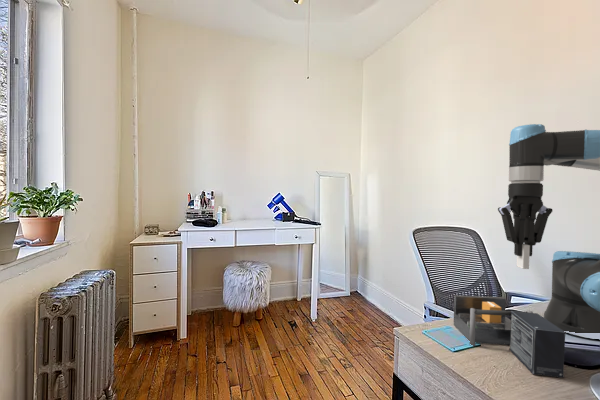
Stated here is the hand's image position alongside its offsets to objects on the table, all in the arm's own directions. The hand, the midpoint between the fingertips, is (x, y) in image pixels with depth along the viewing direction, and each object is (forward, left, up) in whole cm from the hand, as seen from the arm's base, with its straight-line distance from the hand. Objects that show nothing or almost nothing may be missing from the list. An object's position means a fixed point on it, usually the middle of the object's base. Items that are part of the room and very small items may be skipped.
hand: (522, 267), depth 80 cm
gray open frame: (+8, +5, -20) cm, 22 cm away
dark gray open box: (+8, 0, -20) cm, 22 cm away
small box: (+4, +12, -20) cm, 24 cm away
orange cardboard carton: (+8, 0, -16) cm, 18 cm away
